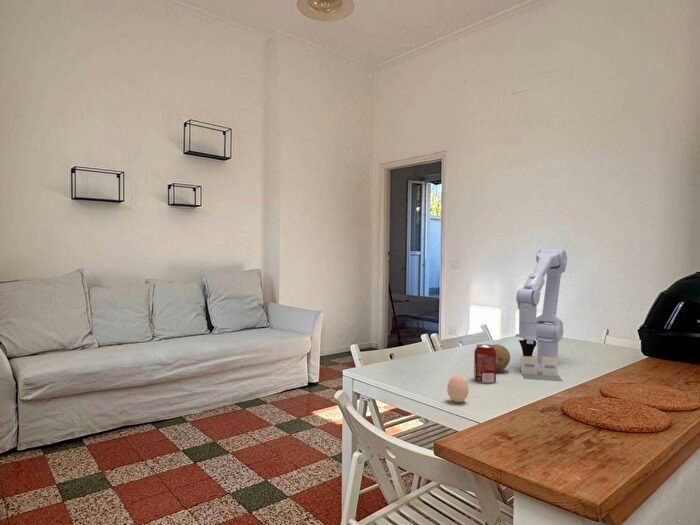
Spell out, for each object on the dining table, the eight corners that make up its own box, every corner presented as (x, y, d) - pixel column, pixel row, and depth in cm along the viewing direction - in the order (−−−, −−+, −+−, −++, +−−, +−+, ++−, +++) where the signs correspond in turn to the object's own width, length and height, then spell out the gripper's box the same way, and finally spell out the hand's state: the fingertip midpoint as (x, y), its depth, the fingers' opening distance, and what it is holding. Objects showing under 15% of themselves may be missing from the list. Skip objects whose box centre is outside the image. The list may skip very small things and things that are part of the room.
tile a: (521, 372, 159) (521, 355, 159) (536, 373, 157) (536, 356, 157) (521, 373, 157) (521, 356, 157) (537, 374, 156) (537, 357, 156)
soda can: (497, 386, 144) (497, 348, 144) (474, 384, 145) (475, 347, 145) (494, 380, 150) (494, 344, 150) (473, 379, 152) (473, 343, 152)
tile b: (541, 374, 157) (541, 356, 157) (556, 375, 156) (556, 357, 156) (541, 375, 156) (541, 357, 156) (557, 376, 154) (557, 358, 154)
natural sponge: (503, 377, 154) (503, 348, 154) (478, 373, 160) (478, 344, 160) (514, 372, 161) (514, 344, 161) (490, 368, 167) (490, 341, 167)
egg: (462, 406, 123) (462, 378, 123) (443, 402, 127) (443, 375, 127) (472, 401, 128) (472, 374, 128) (453, 397, 131) (453, 371, 131)
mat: (519, 371, 162) (519, 370, 162) (556, 373, 159) (556, 372, 159) (523, 380, 151) (523, 378, 151) (563, 382, 148) (563, 381, 148)
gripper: (513, 319, 170) (513, 355, 170) (517, 324, 155) (517, 364, 156) (534, 320, 168) (533, 357, 168) (540, 325, 154) (539, 365, 154)
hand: (527, 360), depth 162 cm, fingers closed
